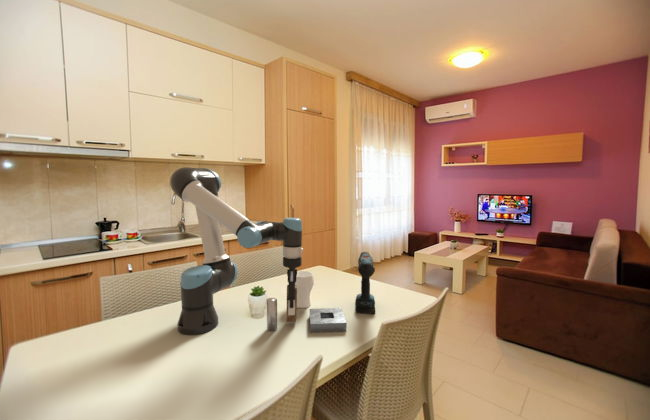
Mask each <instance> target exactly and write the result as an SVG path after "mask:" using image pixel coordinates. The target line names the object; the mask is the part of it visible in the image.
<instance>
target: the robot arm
mask: <svg viewBox="0 0 650 420" xmlns="http://www.w3.org/2000/svg"><path fill="white" fill-rule="evenodd" d="M169 183H170V184H169V186H170V188H171V190H172V191H173V193H174V194H175V195H176V196H177V197H178V198H179V199H181V200H183V201H184V202H186V203H191V204H193V206H194V207H195V211H196V217H197V218H196V219H197V223H198V229H199V232H200V237H201V243H202V249H203V254H204V259H203V260H202V262H201V265H199V264H198V265H196V266H191V267H188V268H186V269H185V270H184V271H183V272H181V275H180V281H179V283H180V284H179V286H180V297H181V299H180V300H181V311H180V314H179V317H178V318H179V319H178V320H177V321H178V322H177V332H178V333H180V334H181V335H187V336H189V335H191V336H192V335H201V334H205V333H207V332H210V331H212V330H214V329H215V328H216V327H218V325H219V316H218V313H217V311H216V308H215V305H214V294H216V293H219V292H220V291H222V290H224V289H227V288H229V287H230V286H231V285H232V284H233V283H235V281H236V280H237V277H238V266H237V265H236V263H234V261H232V260H231V257H230V255H228V254H227V253H226V251H225V250H226V249H225V246H224V245H225V244H224V240H223V234H222V229H221V226H222V227H224V228H226V229H227V230H228V231H229V232H231V233H232V234H233V235H235V236H236V237H237V238H236V239H237V242H238V243H239V245H240V246H241V247H243V248H246V249H249V248H254V247H258V246H260V245H261V244H264V243H267V242H270V241H276V242H277V241H278V242H279V241H280V242H282V256H283V257H282V266H283V267H285V268H288V269H287V271H286V275H287V283H288V285H289V288H288V298H287V297H286V301H287V300H288V315H295V282H296V276H297V272H298V269H297V268H300V267H301V266H302V263H303V262H302V261H303V260H302V253H303V251H304V248H303V247H302V245H303V244H302V243H303V221H302V219H301V218H299V217H285V218H283V221H282V222H280V221H267V220H262V221H261V220H259V221H257V222H256V224H255V222H252V221H251V220H250V219H249V218H247V217H245V215H243V214H241V213H240V212H239V211H238V210H236V209H235V208H233V207H232V206H230V205H229V204H227V203H226V202H225V201H224V200H223V199H221V198H219V192H220V190H221V187H222V181H221V178H220V176H219V174H218V173H217V172H215V170H213V169H209V168H205V167H204V168H203V167H202V168H201V167H200V168H199V167H187V166H185V167H183V166H182V167H180V168H178V169H176V170H175V171H174V172H173V173H172V174H171V176H170V179H169Z"/></svg>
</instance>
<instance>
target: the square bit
mask: <svg viewBox="0 0 650 420" xmlns="http://www.w3.org/2000/svg"><path fill="white" fill-rule="evenodd" d="M288 288H289V284H287V285H286V323H294V322H295V323H296V322H297V320H298V319H297V318H298V317H297V314H298V311H297V310H298V309H297V308H298V307H297V285H295V315H288V300H287V298H288Z"/></svg>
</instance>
